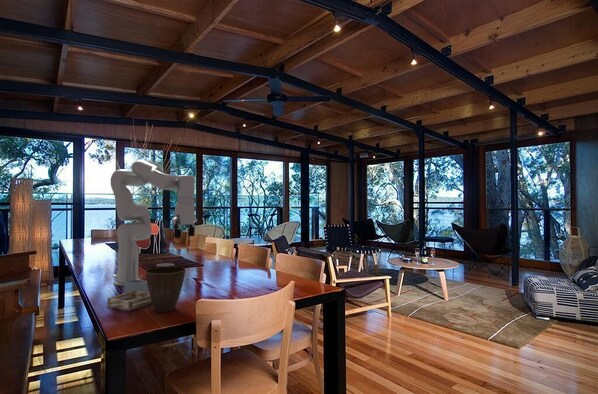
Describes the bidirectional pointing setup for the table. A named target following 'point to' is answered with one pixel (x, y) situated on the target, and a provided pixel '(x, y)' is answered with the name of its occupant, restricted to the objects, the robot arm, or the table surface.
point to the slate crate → (135, 286)
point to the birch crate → (129, 301)
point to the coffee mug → (164, 265)
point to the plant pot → (165, 286)
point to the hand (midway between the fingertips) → (184, 237)
